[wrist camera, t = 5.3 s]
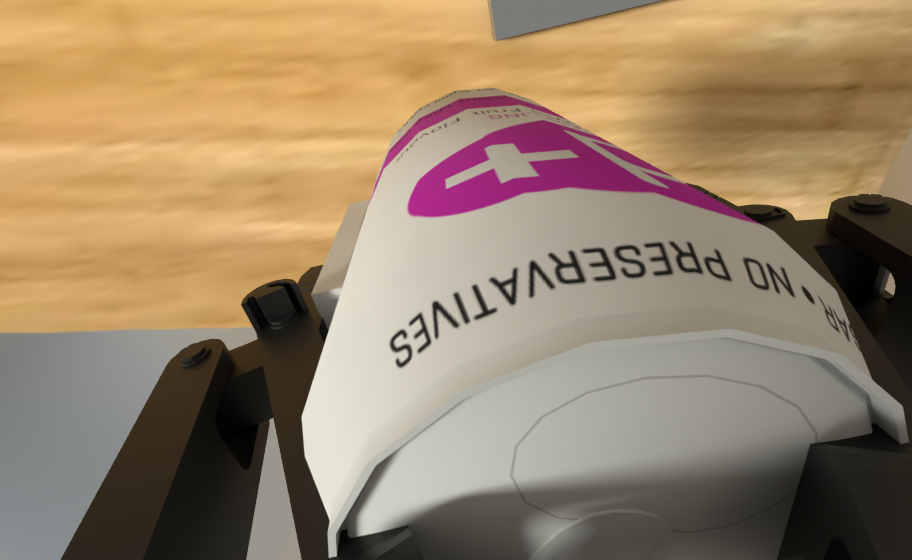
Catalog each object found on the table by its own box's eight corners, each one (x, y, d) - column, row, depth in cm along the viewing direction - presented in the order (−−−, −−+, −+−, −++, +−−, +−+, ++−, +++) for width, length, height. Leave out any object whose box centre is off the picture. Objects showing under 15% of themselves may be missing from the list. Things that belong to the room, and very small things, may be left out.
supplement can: (402, 57, 16) (321, 143, 3) (604, 121, 17) (1157, 368, 4) (362, 253, 19) (244, 691, 6) (531, 290, 21) (714, 702, 8)
